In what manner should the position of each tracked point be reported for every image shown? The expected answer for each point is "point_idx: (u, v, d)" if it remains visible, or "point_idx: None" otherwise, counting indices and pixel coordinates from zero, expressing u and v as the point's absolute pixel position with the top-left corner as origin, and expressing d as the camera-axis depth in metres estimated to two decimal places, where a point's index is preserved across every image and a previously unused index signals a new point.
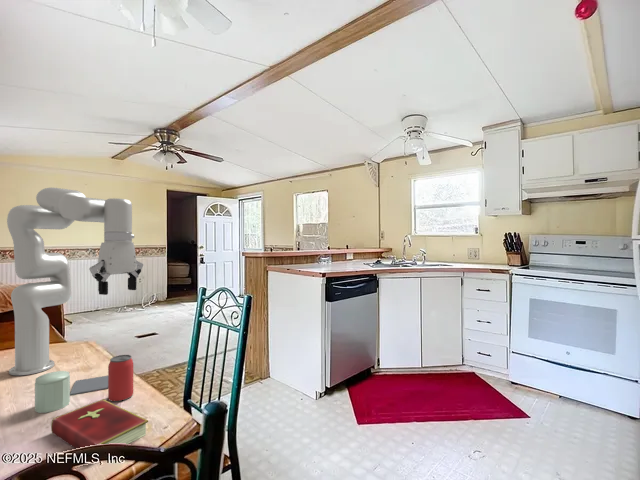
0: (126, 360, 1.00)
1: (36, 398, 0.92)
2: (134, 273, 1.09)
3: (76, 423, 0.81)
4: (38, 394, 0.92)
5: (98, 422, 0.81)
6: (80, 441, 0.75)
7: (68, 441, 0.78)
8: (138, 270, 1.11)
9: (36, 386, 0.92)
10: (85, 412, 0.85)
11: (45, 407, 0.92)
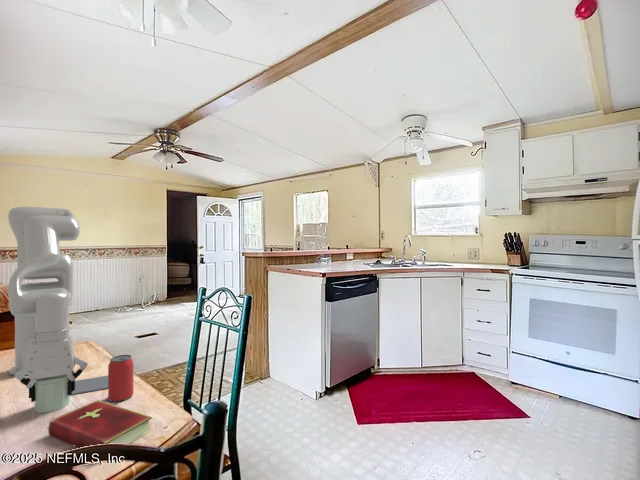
0: (126, 360, 1.00)
1: (36, 398, 0.92)
2: None
3: (77, 423, 0.80)
4: (38, 394, 0.92)
5: (100, 421, 0.81)
6: (85, 440, 0.75)
7: (70, 441, 0.78)
8: None
9: (36, 386, 0.92)
10: (83, 413, 0.85)
11: (45, 407, 0.92)
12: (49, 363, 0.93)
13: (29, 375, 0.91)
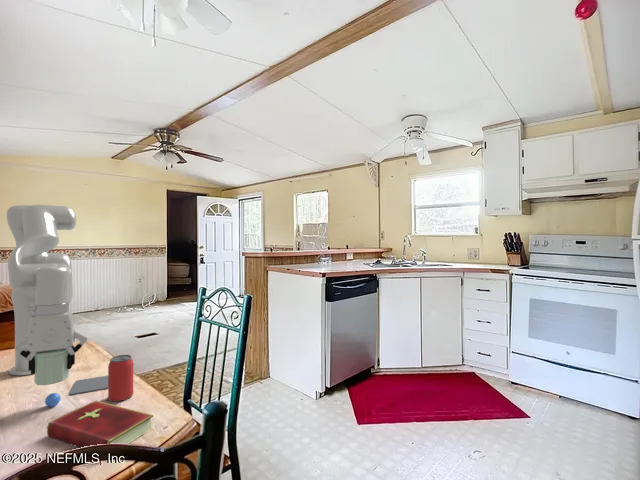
0: (126, 360, 1.00)
1: (36, 371, 0.93)
2: None
3: (77, 423, 0.80)
4: (38, 367, 0.92)
5: (101, 421, 0.81)
6: (87, 439, 0.76)
7: (71, 442, 0.77)
8: None
9: (36, 359, 0.93)
10: (82, 413, 0.85)
11: (45, 380, 0.92)
12: (49, 336, 0.93)
13: (29, 347, 0.91)
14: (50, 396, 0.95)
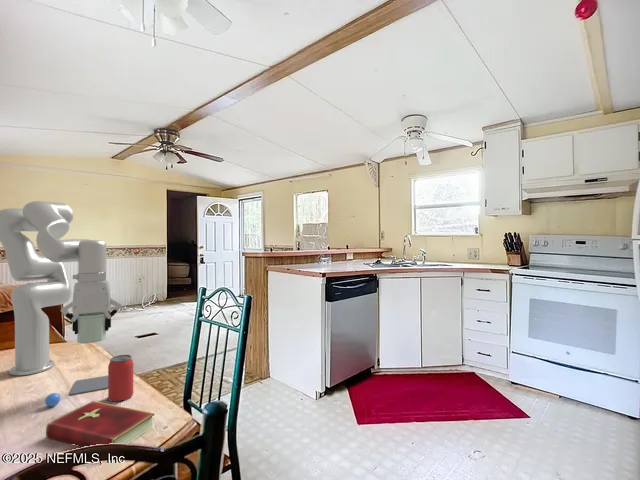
0: (126, 360, 1.00)
1: (79, 331, 1.06)
2: None
3: (78, 424, 0.80)
4: (80, 327, 1.05)
5: (102, 420, 0.82)
6: (90, 438, 0.76)
7: (72, 442, 0.77)
8: None
9: (79, 320, 1.06)
10: (81, 414, 0.85)
11: (87, 338, 1.05)
12: (90, 300, 1.06)
13: (73, 310, 1.04)
14: (50, 396, 0.95)
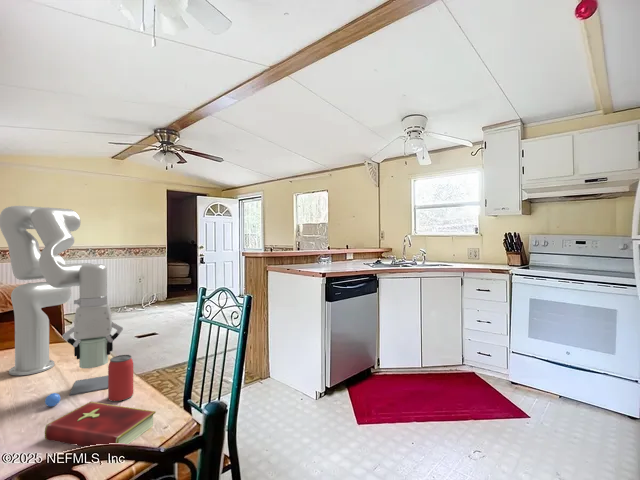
0: (126, 360, 1.00)
1: (81, 356, 1.06)
2: None
3: (78, 424, 0.80)
4: (82, 352, 1.06)
5: (103, 420, 0.82)
6: (93, 438, 0.76)
7: (74, 442, 0.77)
8: None
9: (81, 345, 1.06)
10: (80, 414, 0.84)
11: (89, 363, 1.05)
12: (91, 325, 1.07)
13: (75, 335, 1.05)
14: (50, 396, 0.95)
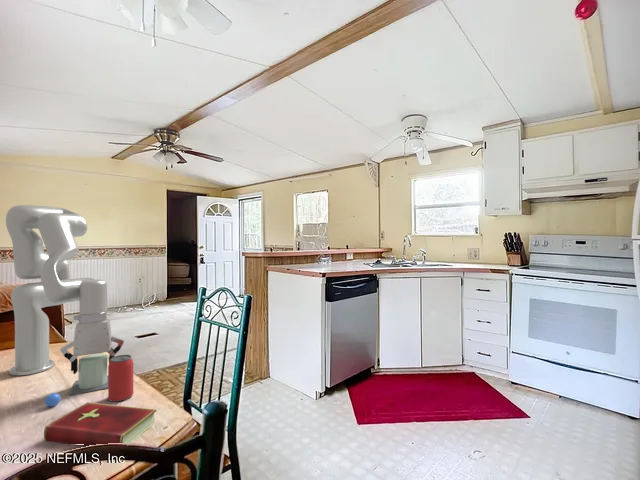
0: (126, 360, 1.00)
1: (80, 376, 1.06)
2: None
3: (79, 424, 0.80)
4: (82, 373, 1.06)
5: (104, 419, 0.82)
6: (96, 437, 0.76)
7: (75, 442, 0.77)
8: None
9: (80, 366, 1.06)
10: (79, 415, 0.84)
11: (88, 384, 1.06)
12: (91, 341, 1.07)
13: (74, 351, 1.05)
14: (50, 396, 0.95)
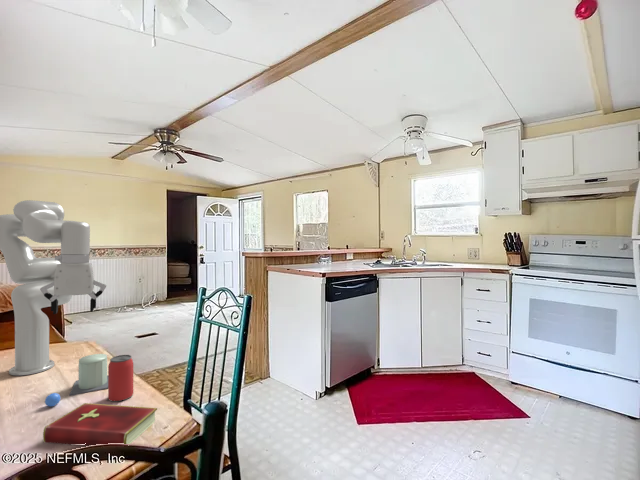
0: (126, 360, 1.00)
1: (80, 376, 1.06)
2: None
3: (79, 424, 0.80)
4: (82, 373, 1.06)
5: (105, 419, 0.82)
6: (99, 436, 0.77)
7: (77, 442, 0.77)
8: None
9: (80, 366, 1.06)
10: (78, 415, 0.84)
11: (88, 384, 1.06)
12: (72, 282, 1.05)
13: (55, 291, 1.04)
14: (50, 396, 0.95)
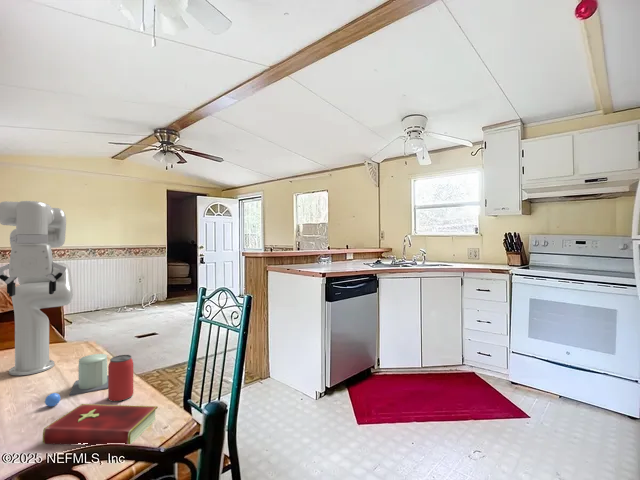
0: (126, 360, 1.00)
1: (80, 376, 1.06)
2: None
3: (80, 424, 0.80)
4: (82, 373, 1.06)
5: (105, 418, 0.83)
6: (102, 435, 0.77)
7: (79, 442, 0.77)
8: None
9: (80, 366, 1.06)
10: (77, 416, 0.84)
11: (88, 384, 1.06)
12: (28, 263, 1.02)
13: (10, 272, 1.00)
14: (50, 396, 0.95)
